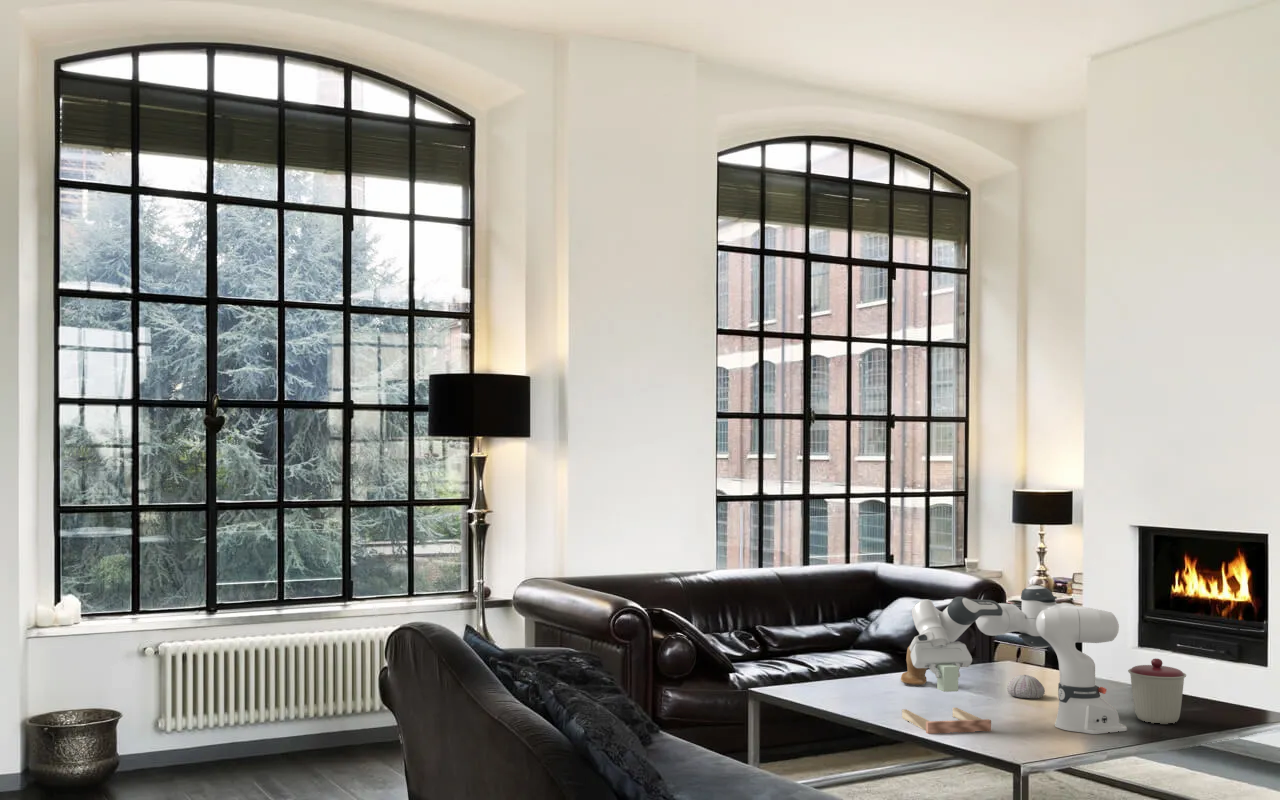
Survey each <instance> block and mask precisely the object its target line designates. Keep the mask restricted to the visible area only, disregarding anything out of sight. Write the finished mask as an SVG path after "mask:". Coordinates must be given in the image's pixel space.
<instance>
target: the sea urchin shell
mask: <svg viewBox="0 0 1280 800" xmlns="http://www.w3.org/2000/svg"><path fill="white" fill-rule="evenodd" d="M1006 689H1007V693H1008V694H1009V695H1010V696H1012V697H1016V698H1021V699H1041V698H1042V697H1043V696H1044V695H1045V694H1046V693H1045V692H1046V691H1045V687H1044V686H1043V684H1042V683H1041V682H1040V681H1039V680H1038V679H1037V678H1036V677H1035V676H1031V675H1029V674H1019V675H1016V676H1015V677H1013V678H1012V679H1011V680H1010V681H1009V683H1008V685H1007V688H1006Z"/></svg>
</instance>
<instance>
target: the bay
mask: <svg viewBox="0 0 1280 800" xmlns="http://www.w3.org/2000/svg"><path fill="white" fill-rule="evenodd" d="M952 717H953V718H954V717H955V718H954V719H956V718H957V719H956V720H935V721H933V720H932V721H930V720H928V719H926V718H924V717H923V716H920V715H918V714H917V713H914V712H912V711H910V710H908V709H906V708H905V709H901V719H902V718H903V719H902V720H904V719H905V720H904V721H906V720H907V721H906V722H908V721H909V722H908V723H910V722H911V723H910V724H912V723H913V724H912V725H914V726H916V727H917V726H918V728H919V727H920V729H922V731H925V733H926V734H929V735H930V734H931V735H932V734H954V733H953V732H958V733H976V732H975V731H985V732H992V720H991V719H988V718H986V719H982V718H980V717H978V716H976V715H974V714H972V713H969V712H967V711H965V710H962V709H960V708H959V707H952ZM950 732H952V733H950Z"/></svg>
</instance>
